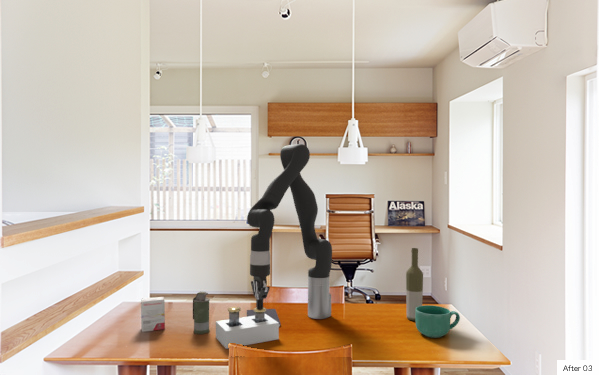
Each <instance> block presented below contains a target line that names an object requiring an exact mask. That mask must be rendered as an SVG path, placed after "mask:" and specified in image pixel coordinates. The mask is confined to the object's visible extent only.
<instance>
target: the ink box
mask: <svg viewBox="0 0 599 375" xmlns="http://www.w3.org/2000/svg"><path fill="white" fill-rule="evenodd" d="M140 300H141V301H140V311H141V312H140V314H141V316H140V318H141V319H140V320H141V322H140V323H141V333H145V332H153V331H161V330H165V329H166V322H165V320H166V316H165V314H166V313H165V312H166V311H165V310H166V309H165V308H166V306H165V305H166V304H165V297H164V296H159V297H158V296H157V297H145V298H141V299H140Z"/></svg>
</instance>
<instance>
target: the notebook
mask: <svg viewBox="0 0 599 375" xmlns="http://www.w3.org/2000/svg"><path fill="white" fill-rule="evenodd" d="M265 314H267V315H268V316H270V317H271V318H272V319H274V320H275V321H277V322H278V323H279V328H280V327H281V321H280V318H279V316H278V312H277V310H276V308H266V311H265ZM248 316H255V312H254V309H246V317H248Z"/></svg>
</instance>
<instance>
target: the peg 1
mask: <svg viewBox="0 0 599 375" xmlns="http://www.w3.org/2000/svg"><path fill="white" fill-rule="evenodd" d="M241 310H242V309H241V307H239V306H231V307H228V308H227V312H228V319H229V327H234V326H239V318H240V312H241Z"/></svg>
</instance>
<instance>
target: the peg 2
mask: <svg viewBox="0 0 599 375" xmlns="http://www.w3.org/2000/svg"><path fill="white" fill-rule="evenodd" d="M266 309H267V308H266V307H264V306H263V309H260V310H258V309H257V308H256V307H254V308H253V310H254V312H255V323H259V322H265V311H266Z"/></svg>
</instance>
